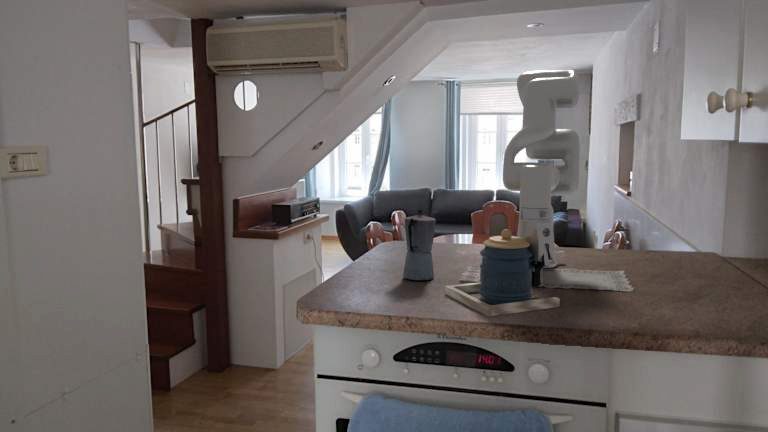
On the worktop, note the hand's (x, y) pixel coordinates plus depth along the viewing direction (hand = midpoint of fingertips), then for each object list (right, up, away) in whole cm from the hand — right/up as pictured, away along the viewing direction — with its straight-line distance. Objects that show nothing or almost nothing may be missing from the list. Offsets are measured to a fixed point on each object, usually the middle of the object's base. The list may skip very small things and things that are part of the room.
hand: (533, 285), depth 142 cm
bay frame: (-8, -3, -3) cm, 9 cm away
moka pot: (-28, -1, +20) cm, 34 cm away
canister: (-8, -3, -2) cm, 8 cm away
